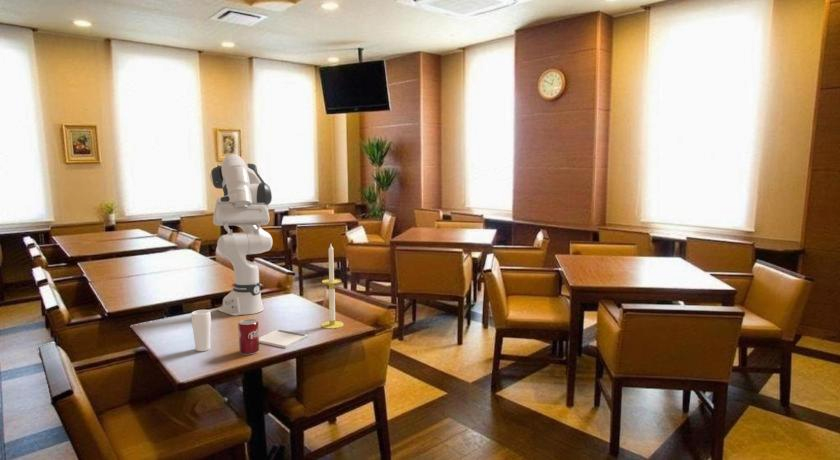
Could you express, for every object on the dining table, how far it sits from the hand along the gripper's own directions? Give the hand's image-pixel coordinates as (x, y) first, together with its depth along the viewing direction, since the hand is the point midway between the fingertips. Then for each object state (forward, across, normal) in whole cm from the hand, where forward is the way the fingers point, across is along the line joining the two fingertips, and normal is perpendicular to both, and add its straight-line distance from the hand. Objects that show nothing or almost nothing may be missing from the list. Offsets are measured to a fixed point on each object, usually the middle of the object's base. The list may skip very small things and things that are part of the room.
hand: (243, 234), depth 182 cm
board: (+34, -16, -30) cm, 48 cm away
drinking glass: (+33, +13, -34) cm, 49 cm away
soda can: (+39, -2, -24) cm, 46 cm away
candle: (+29, -40, -35) cm, 61 cm away
